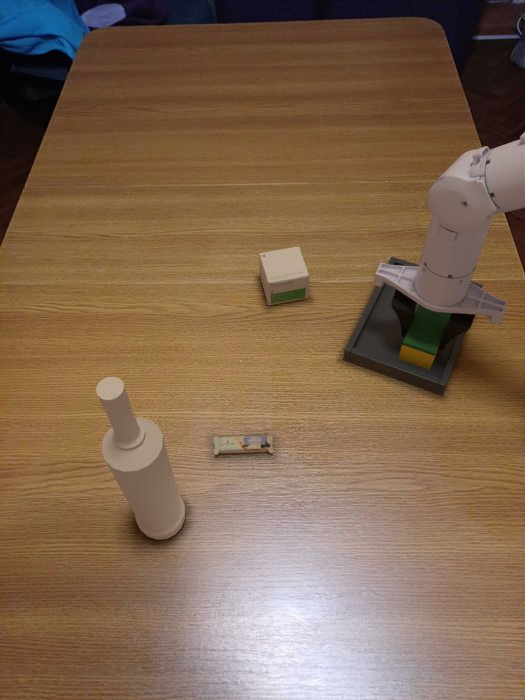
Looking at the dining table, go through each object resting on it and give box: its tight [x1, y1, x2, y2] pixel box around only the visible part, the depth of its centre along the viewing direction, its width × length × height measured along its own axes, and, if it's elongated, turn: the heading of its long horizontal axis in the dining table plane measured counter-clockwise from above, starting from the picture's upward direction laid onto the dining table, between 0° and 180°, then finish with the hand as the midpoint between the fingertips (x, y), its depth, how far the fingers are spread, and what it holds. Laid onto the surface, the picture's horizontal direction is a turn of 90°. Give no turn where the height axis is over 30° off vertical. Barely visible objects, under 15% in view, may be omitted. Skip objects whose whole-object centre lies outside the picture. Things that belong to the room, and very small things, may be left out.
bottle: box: [95, 376, 186, 541], centre depth 55 cm, size 5×5×25 cm
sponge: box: [398, 304, 451, 370], centre depth 76 cm, size 7×4×4 cm, turn 154°
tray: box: [342, 256, 484, 396], centre depth 79 cm, size 13×18×2 cm
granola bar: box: [212, 434, 274, 456], centre depth 69 cm, size 7×2×1 cm, turn 91°
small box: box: [258, 245, 310, 306], centre depth 82 cm, size 6×6×5 cm
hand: (424, 337), depth 76 cm, fingers closed on sponge, 4 cm apart
